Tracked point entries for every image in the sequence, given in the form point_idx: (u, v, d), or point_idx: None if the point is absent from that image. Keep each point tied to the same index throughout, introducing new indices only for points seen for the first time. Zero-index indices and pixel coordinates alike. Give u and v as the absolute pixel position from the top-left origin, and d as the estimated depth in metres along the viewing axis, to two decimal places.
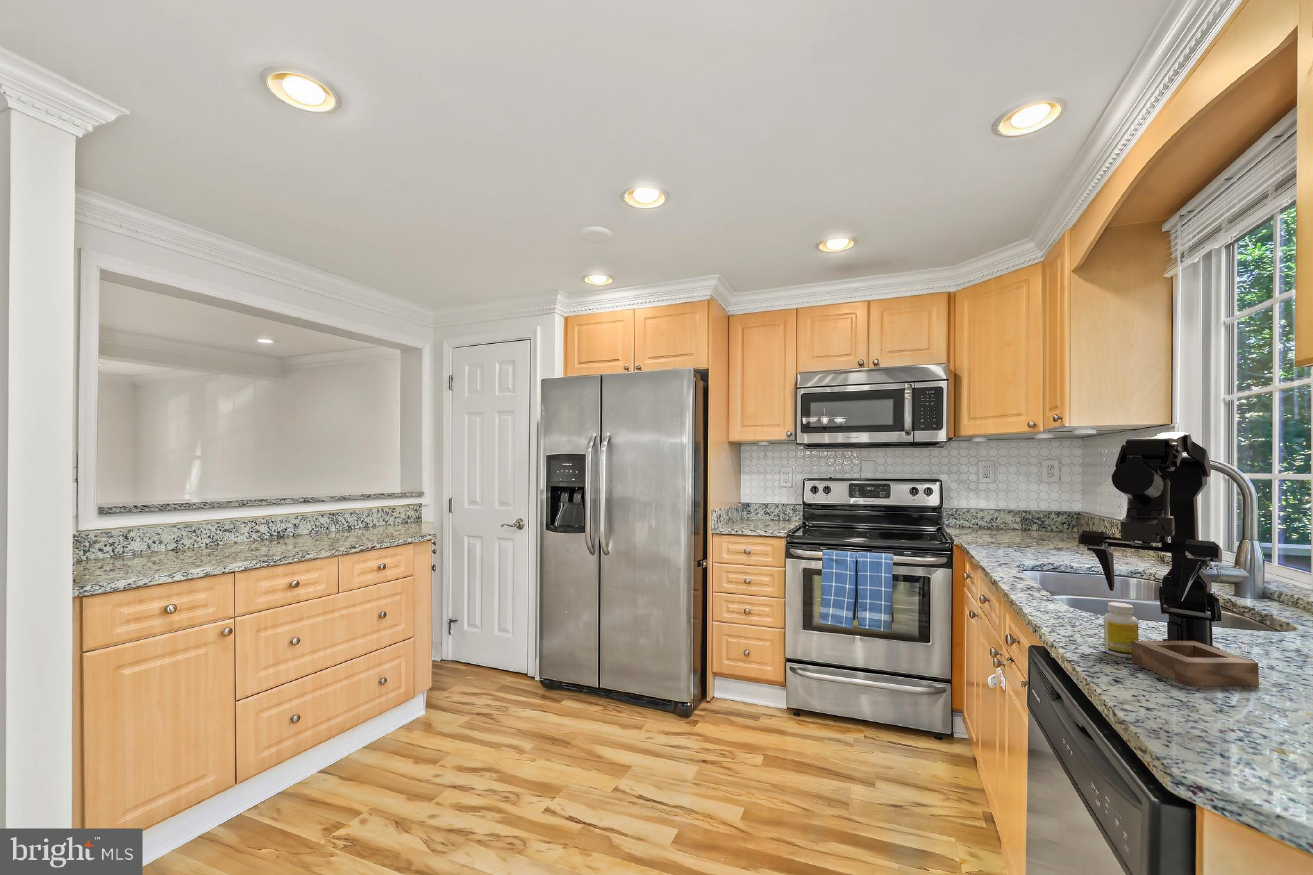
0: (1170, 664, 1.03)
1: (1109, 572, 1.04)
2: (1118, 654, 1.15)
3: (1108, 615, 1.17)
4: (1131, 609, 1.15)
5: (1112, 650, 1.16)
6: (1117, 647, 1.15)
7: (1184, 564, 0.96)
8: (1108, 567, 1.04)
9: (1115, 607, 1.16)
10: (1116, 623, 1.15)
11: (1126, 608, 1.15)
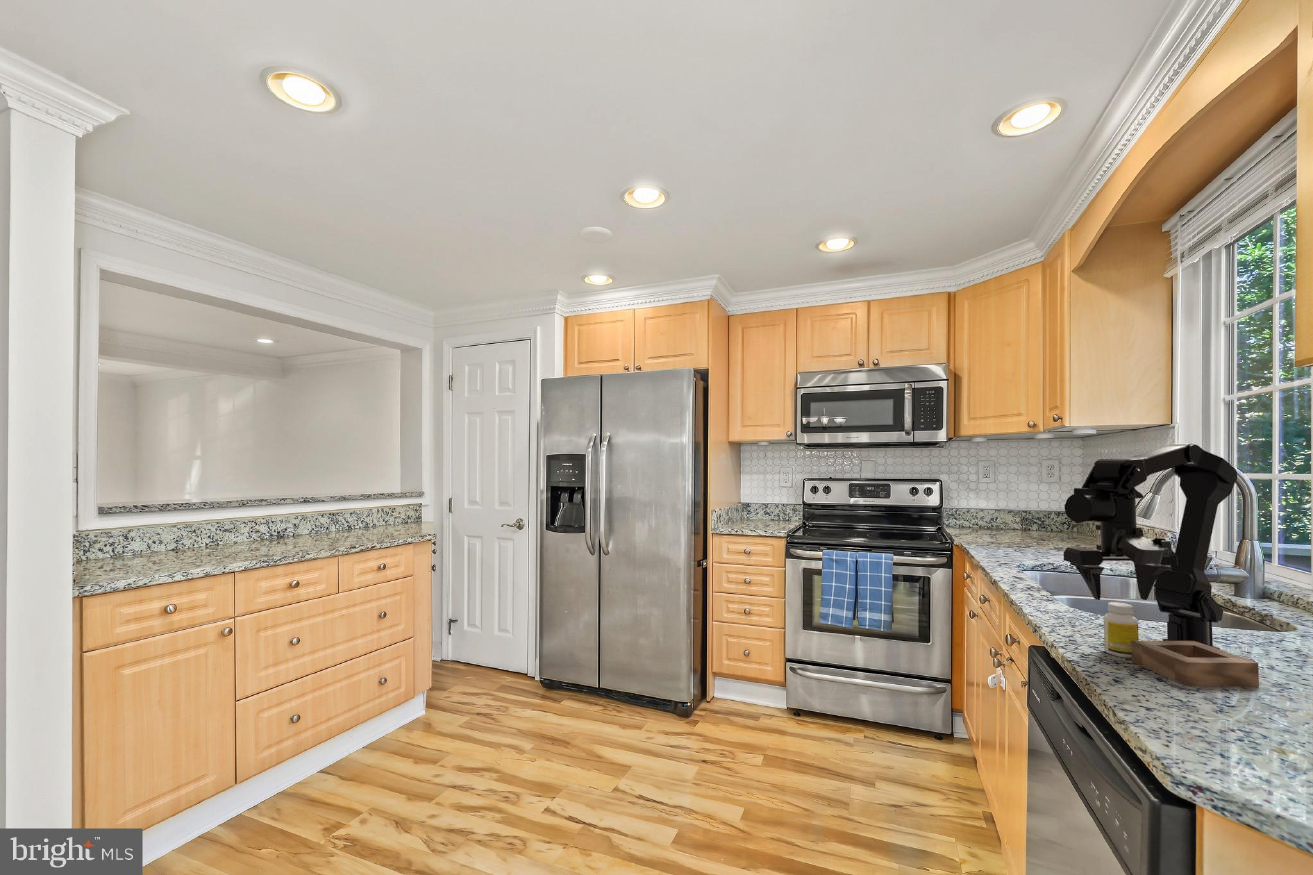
0: (1170, 664, 1.03)
1: (1099, 585, 1.16)
2: (1118, 654, 1.15)
3: (1108, 615, 1.17)
4: (1131, 609, 1.15)
5: (1112, 650, 1.16)
6: (1117, 647, 1.15)
7: (1155, 572, 1.15)
8: (1099, 581, 1.16)
9: (1115, 607, 1.16)
10: (1116, 623, 1.15)
11: (1126, 608, 1.15)
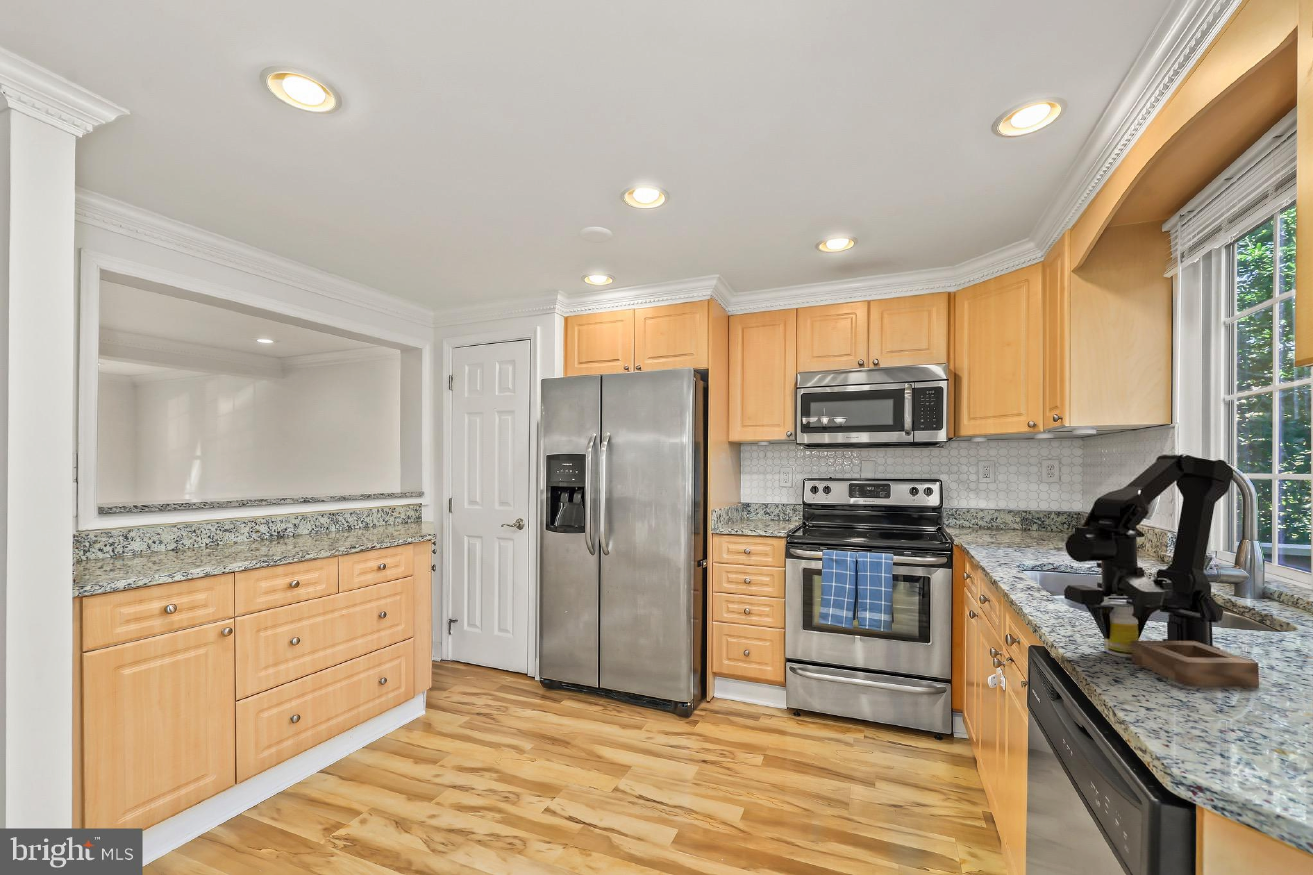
0: (1170, 664, 1.03)
1: (1109, 624, 1.16)
2: (1118, 654, 1.15)
3: None
4: (1131, 609, 1.15)
5: (1112, 650, 1.16)
6: (1117, 647, 1.15)
7: (1147, 611, 1.15)
8: (1109, 620, 1.15)
9: (1115, 607, 1.16)
10: (1116, 623, 1.15)
11: (1126, 608, 1.15)
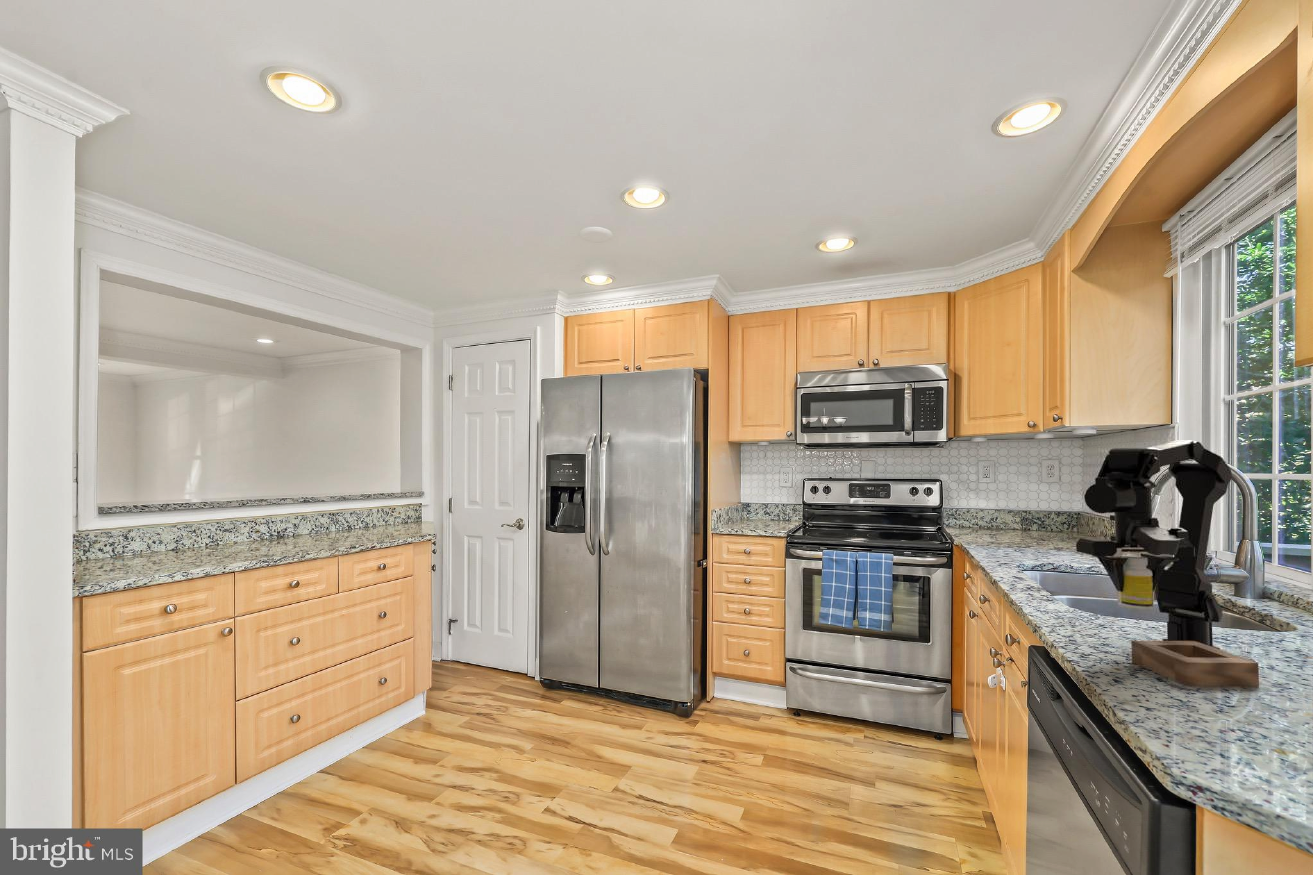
0: (1170, 664, 1.03)
1: (1122, 576, 1.14)
2: (1132, 606, 1.13)
3: None
4: (1145, 561, 1.13)
5: (1125, 603, 1.13)
6: (1130, 599, 1.13)
7: (1161, 563, 1.12)
8: (1122, 572, 1.13)
9: (1129, 559, 1.14)
10: (1130, 575, 1.13)
11: (1140, 560, 1.13)
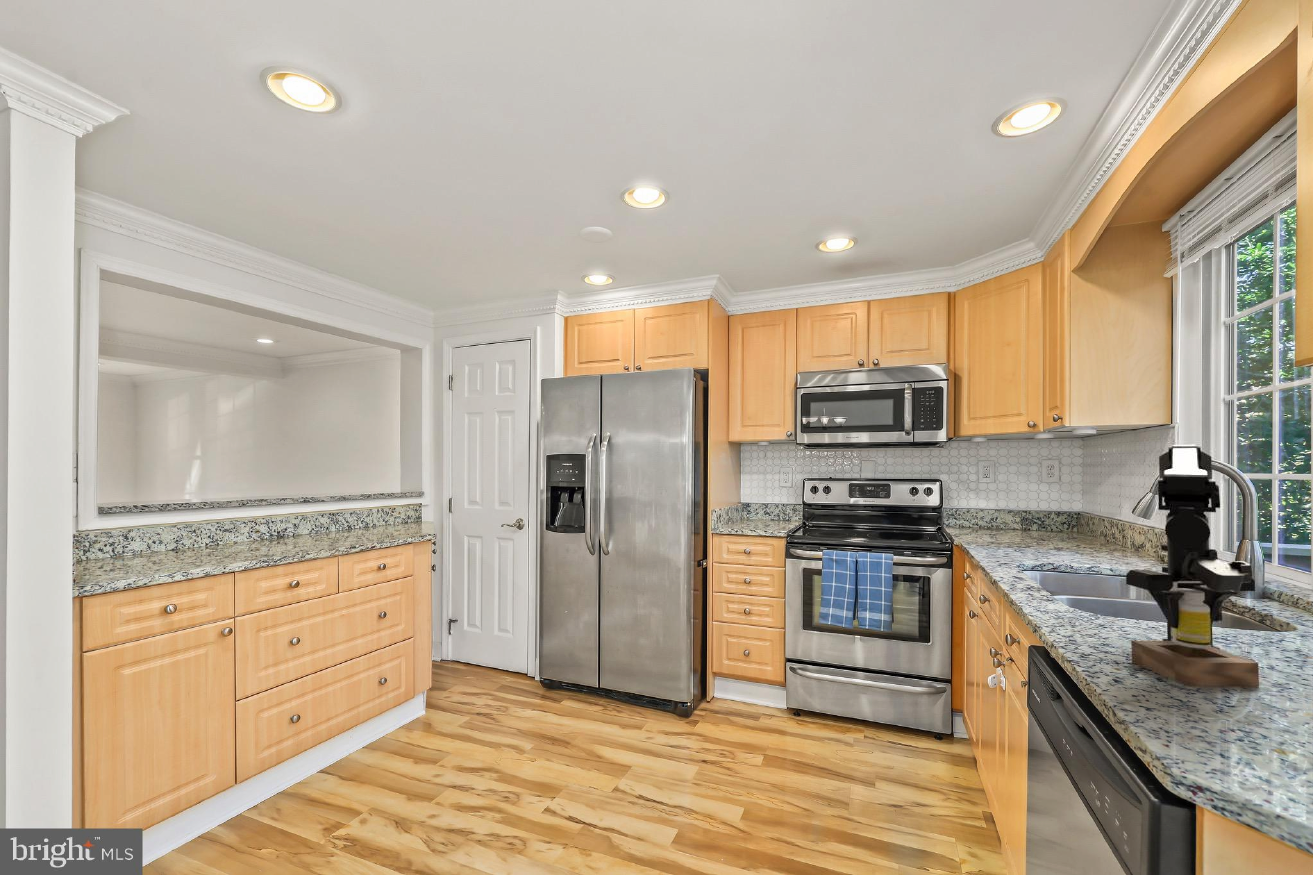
0: (1170, 664, 1.03)
1: (1177, 612, 1.05)
2: (1188, 645, 1.04)
3: None
4: (1202, 595, 1.05)
5: (1181, 641, 1.05)
6: (1187, 637, 1.05)
7: (1220, 598, 1.04)
8: (1177, 607, 1.05)
9: (1184, 593, 1.05)
10: (1186, 611, 1.05)
11: (1197, 594, 1.05)
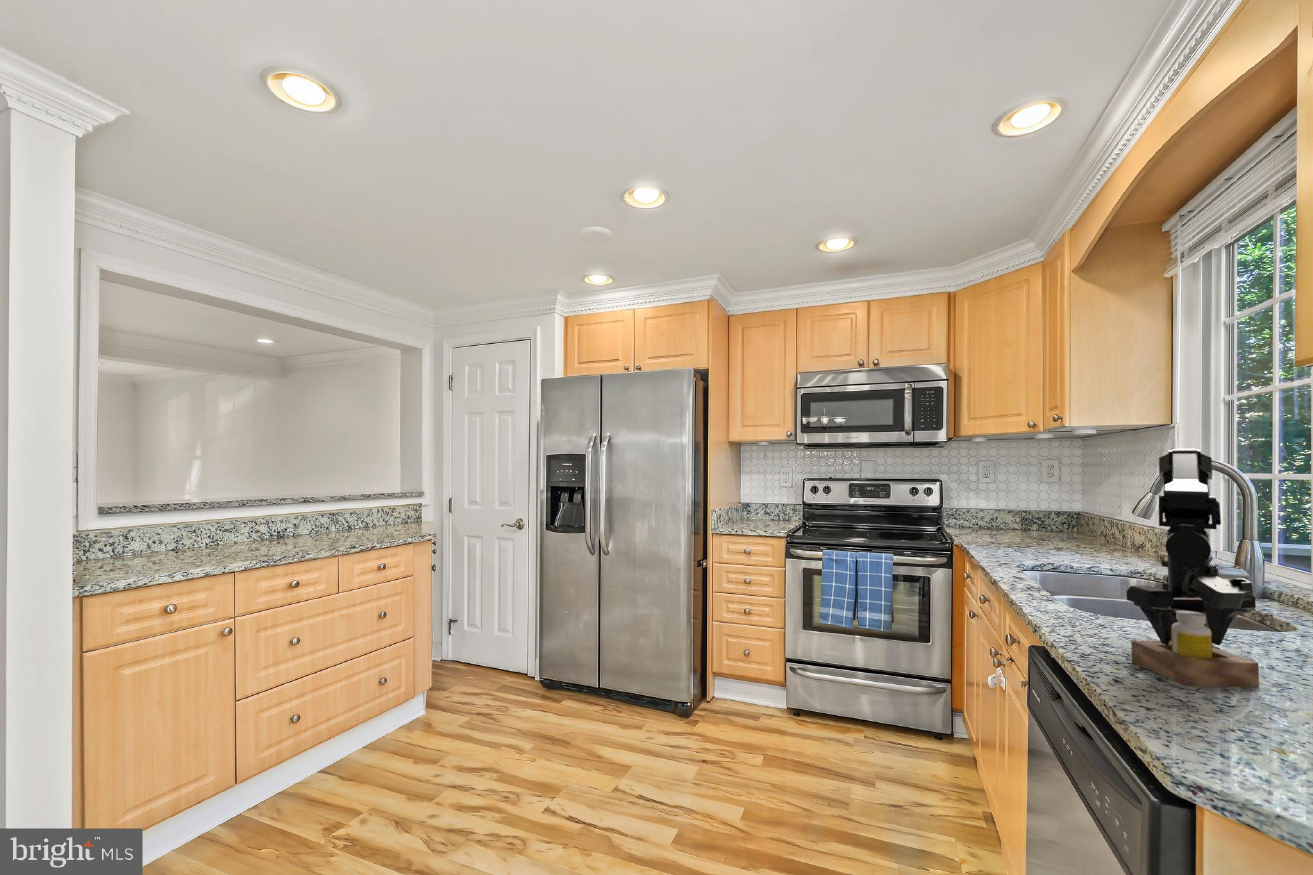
0: (1170, 664, 1.03)
1: (1168, 628, 1.05)
2: None
3: (1177, 625, 1.07)
4: (1204, 618, 1.04)
5: None
6: None
7: (1230, 614, 1.04)
8: (1168, 624, 1.05)
9: (1186, 616, 1.05)
10: (1187, 634, 1.05)
11: (1198, 617, 1.04)
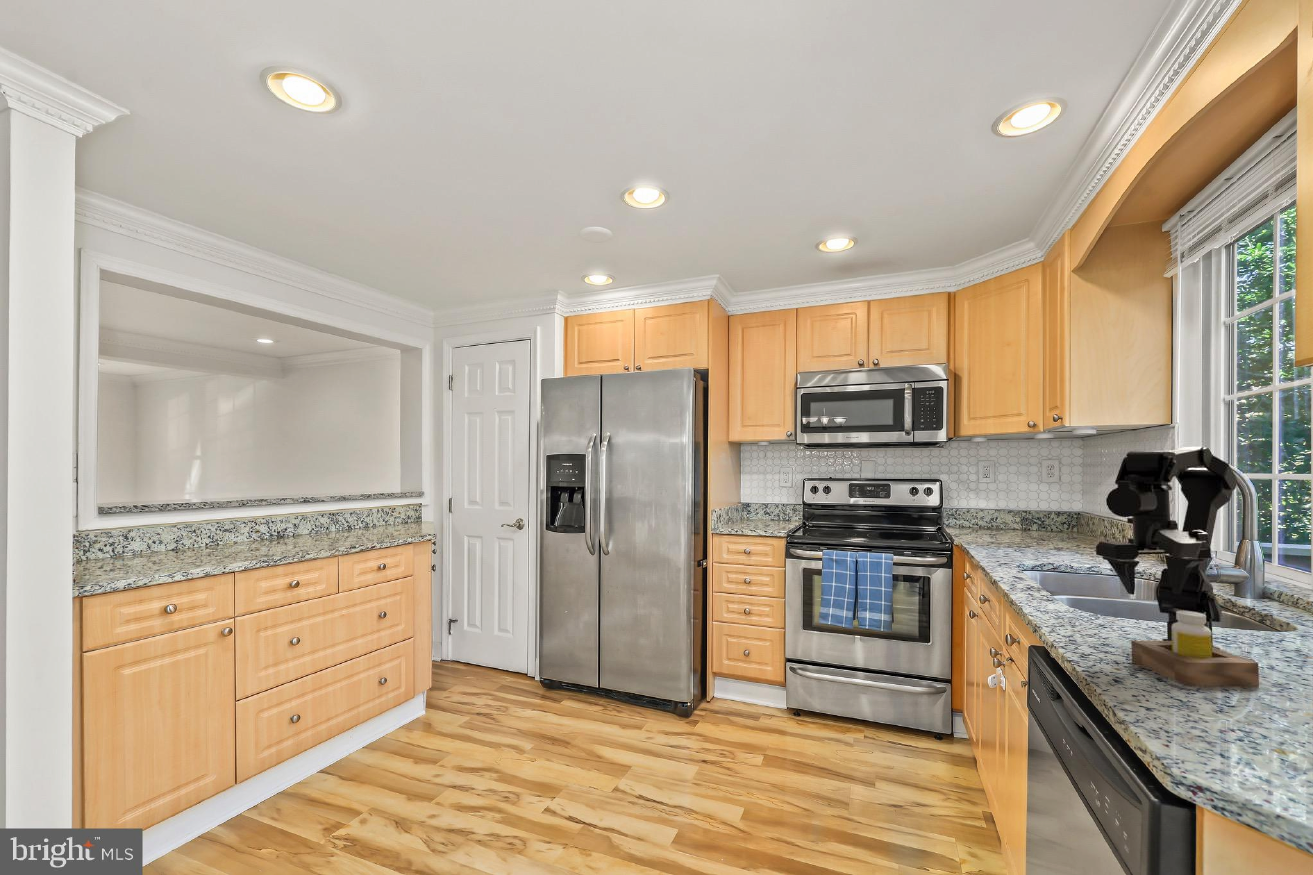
0: (1170, 664, 1.03)
1: (1134, 579, 1.14)
2: None
3: (1177, 625, 1.07)
4: (1204, 618, 1.04)
5: None
6: None
7: (1188, 565, 1.13)
8: (1134, 575, 1.14)
9: (1186, 616, 1.05)
10: (1187, 634, 1.05)
11: (1198, 617, 1.04)
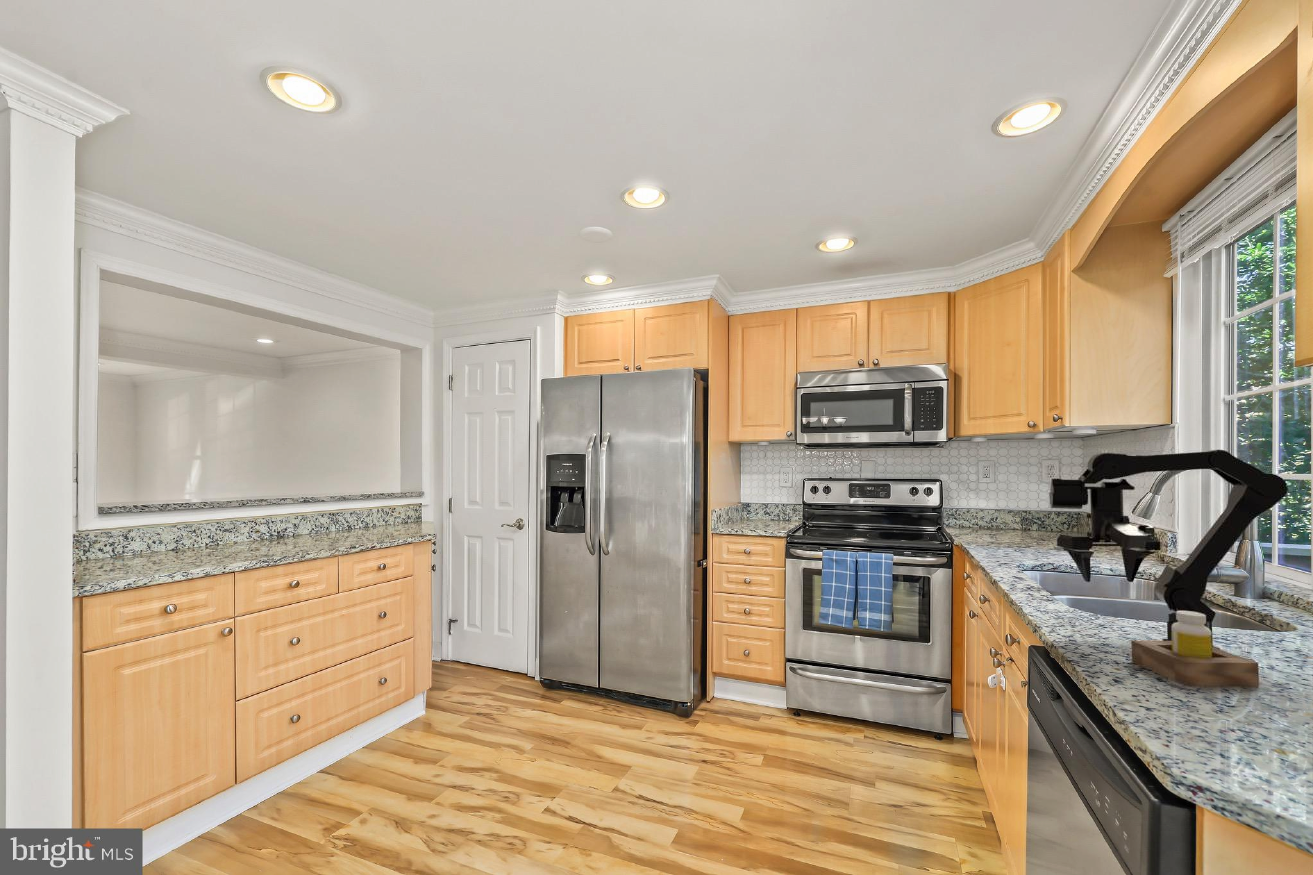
0: (1170, 664, 1.03)
1: (1089, 568, 1.27)
2: None
3: (1177, 625, 1.07)
4: (1204, 618, 1.04)
5: None
6: None
7: (1140, 556, 1.26)
8: (1089, 564, 1.27)
9: (1186, 616, 1.05)
10: (1187, 634, 1.05)
11: (1198, 617, 1.04)
